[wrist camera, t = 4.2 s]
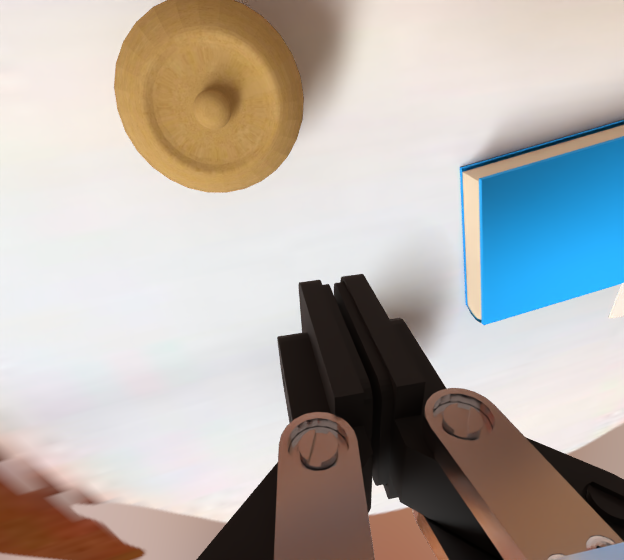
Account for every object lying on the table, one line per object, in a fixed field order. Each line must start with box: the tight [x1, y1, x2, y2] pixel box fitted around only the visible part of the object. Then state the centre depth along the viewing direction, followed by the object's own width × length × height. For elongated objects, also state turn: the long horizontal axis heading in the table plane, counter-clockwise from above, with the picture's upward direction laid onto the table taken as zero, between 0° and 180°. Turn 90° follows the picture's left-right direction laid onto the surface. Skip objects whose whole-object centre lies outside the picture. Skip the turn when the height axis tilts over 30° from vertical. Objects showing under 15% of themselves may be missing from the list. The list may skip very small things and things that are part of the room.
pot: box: [114, 0, 304, 192], centre depth 28 cm, size 12×12×10 cm
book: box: [460, 120, 624, 325], centre depth 42 cm, size 17×4×25 cm
